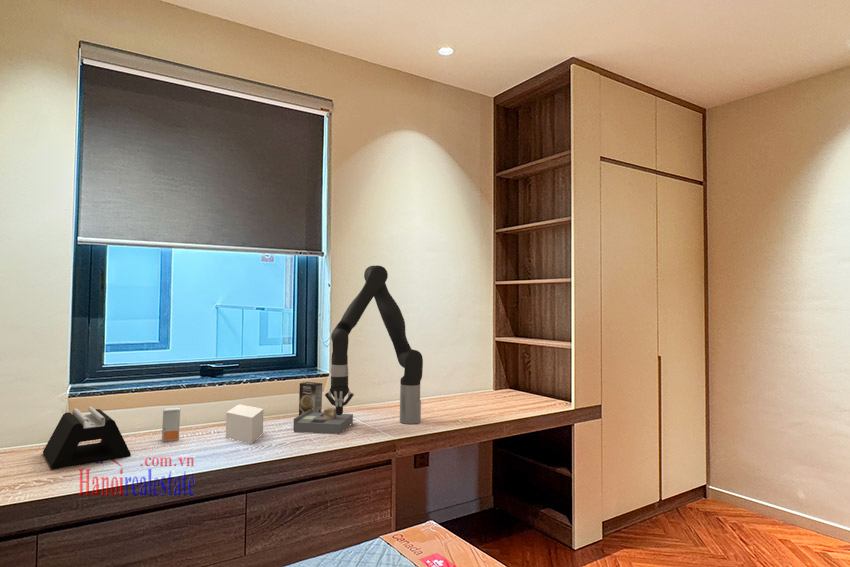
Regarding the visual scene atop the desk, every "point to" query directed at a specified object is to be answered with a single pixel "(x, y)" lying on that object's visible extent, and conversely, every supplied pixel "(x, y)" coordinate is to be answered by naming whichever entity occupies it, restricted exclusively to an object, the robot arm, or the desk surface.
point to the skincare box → (171, 424)
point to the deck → (321, 423)
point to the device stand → (81, 429)
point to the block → (329, 413)
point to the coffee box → (310, 397)
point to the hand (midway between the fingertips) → (339, 414)
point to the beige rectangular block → (244, 423)
